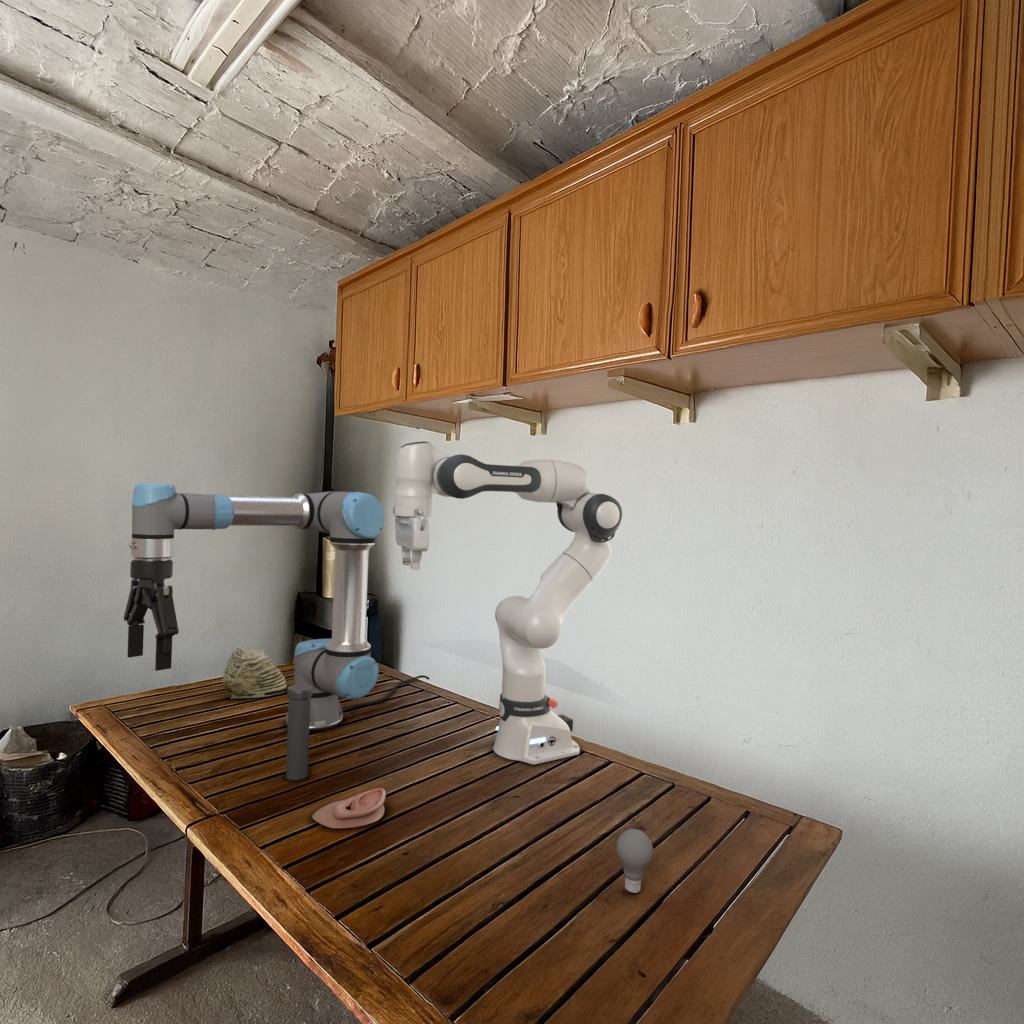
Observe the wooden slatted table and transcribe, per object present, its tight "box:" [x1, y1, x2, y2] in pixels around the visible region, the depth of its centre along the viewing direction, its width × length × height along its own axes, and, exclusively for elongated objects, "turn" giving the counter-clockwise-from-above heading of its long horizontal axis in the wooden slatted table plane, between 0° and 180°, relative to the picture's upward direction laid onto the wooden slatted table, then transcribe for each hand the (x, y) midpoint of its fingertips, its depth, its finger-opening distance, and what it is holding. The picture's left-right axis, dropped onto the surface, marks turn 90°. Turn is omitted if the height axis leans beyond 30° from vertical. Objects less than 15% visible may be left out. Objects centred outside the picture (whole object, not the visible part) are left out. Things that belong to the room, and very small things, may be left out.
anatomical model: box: [311, 787, 387, 829], centre depth 126 cm, size 13×4×12 cm
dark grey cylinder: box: [285, 697, 311, 781], centre depth 143 cm, size 5×5×20 cm
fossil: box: [222, 646, 288, 699], centre depth 198 cm, size 9×18×15 cm, turn 132°
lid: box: [286, 684, 312, 700], centre depth 143 cm, size 5×5×2 cm
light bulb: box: [615, 828, 654, 894], centre depth 106 cm, size 6×6×10 cm
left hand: (148, 662), depth 129 cm, fingers open, 13 cm apart
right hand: (410, 567), depth 151 cm, fingers open, 8 cm apart
